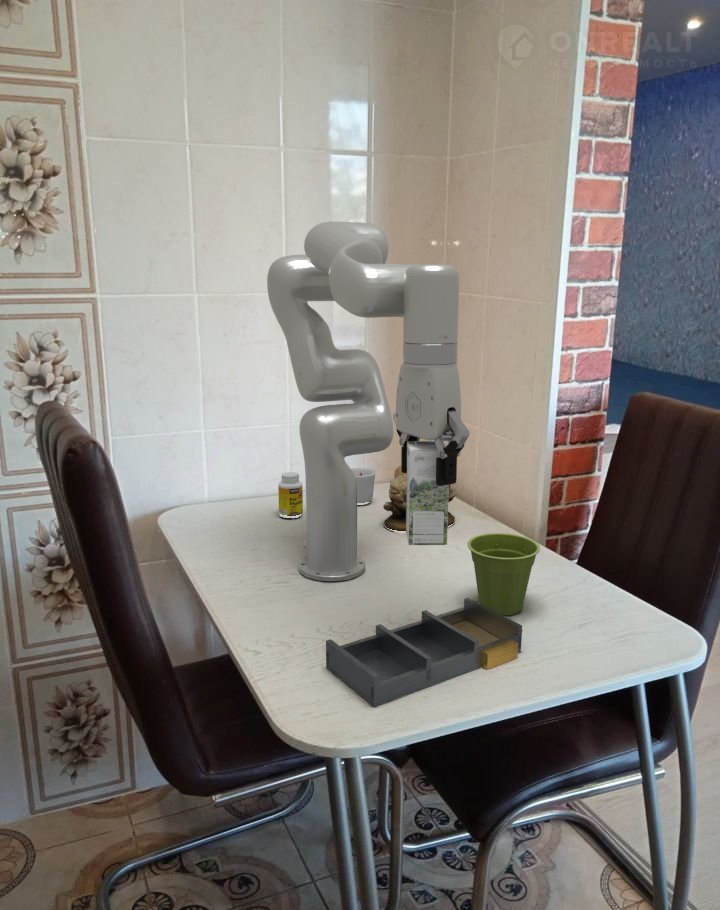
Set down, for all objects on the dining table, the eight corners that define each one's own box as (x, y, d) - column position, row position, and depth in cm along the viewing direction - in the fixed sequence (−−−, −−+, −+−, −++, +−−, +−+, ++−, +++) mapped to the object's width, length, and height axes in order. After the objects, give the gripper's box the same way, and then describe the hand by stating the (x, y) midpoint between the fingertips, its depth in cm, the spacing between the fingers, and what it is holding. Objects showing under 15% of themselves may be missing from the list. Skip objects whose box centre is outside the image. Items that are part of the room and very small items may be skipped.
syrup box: (443, 533, 113) (445, 439, 110) (447, 546, 107) (449, 447, 104) (405, 533, 113) (406, 439, 110) (408, 546, 107) (408, 447, 104)
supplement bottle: (289, 521, 170) (288, 478, 168) (274, 516, 174) (273, 473, 172) (307, 516, 174) (307, 474, 172) (292, 511, 178) (291, 469, 176)
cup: (328, 506, 182) (328, 474, 180) (335, 497, 189) (334, 466, 187) (372, 508, 180) (372, 476, 178) (377, 499, 188) (377, 468, 186)
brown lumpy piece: (440, 511, 178) (442, 442, 174) (468, 526, 168) (472, 452, 164) (373, 522, 170) (374, 449, 166) (399, 538, 160) (401, 461, 156)
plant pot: (452, 599, 129) (454, 538, 127) (509, 588, 134) (512, 529, 131) (489, 628, 119) (492, 562, 116) (551, 615, 123) (555, 551, 121)
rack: (326, 668, 107) (325, 640, 106) (466, 621, 121) (467, 597, 120) (378, 711, 96) (378, 681, 95) (525, 654, 110) (527, 628, 109)
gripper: (373, 352, 109) (373, 469, 113) (447, 362, 95) (444, 495, 99) (415, 350, 113) (414, 463, 117) (492, 359, 99) (487, 487, 102)
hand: (428, 477), depth 108 cm, fingers closed on syrup box, 7 cm apart
